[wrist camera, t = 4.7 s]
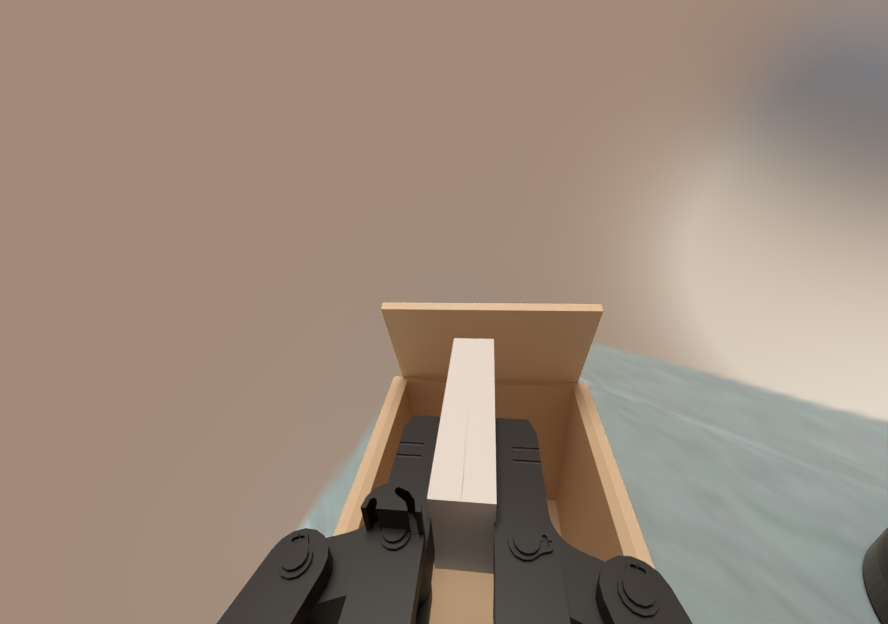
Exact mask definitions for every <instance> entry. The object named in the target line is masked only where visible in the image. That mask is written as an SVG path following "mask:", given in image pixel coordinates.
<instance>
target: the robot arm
mask: <svg viewBox="0 0 888 624" xmlns="http://www.w3.org/2000/svg"><path fill="white" fill-rule="evenodd" d="M360 508H361V512H362V516H363V520H364V524H365V525H364V526H362V527H360V528H359V529H356V530H354V531H351V532H348V533H344V534H340V535H336V536H332V537H328V538H325V536H324V535H323V534H321V533H320V532H319V531H317V530H314V529H307V528H305V529H302V530H298V531H294V532H292V533H291V534H289V535H287V536H286V537H284V538H282V539H281V540H280V541H279V542H278V544H277V545H276V546H275V547H274V548H273V549H272V550H271V551H270V553H269V554H268V555H267V557H266V558H265V559H264V561H263V562H262V563H261V565H260V566H259V567H258V569H257V570H256V572H255V573H254V575H253V576H252V577H251V578H250V580H249V581H248V582H247V584H246V585H245V586H244V588H243V589H242V591H241V592H240V593H239V594H238V596H237V597H236V598H235V600H234V601H233V603H232V604H231V605H230V607H229V608H228V609H227V611H226V612H225V613H224V615H223V616H222V617H221V619H220V620H219V621H218V623H217V624H429V620H430V612H431V604H432V583H431V581H432V573H433V565H435V568H438V569H448V570H458V571H468V572H479V573H489V574H493V579H494V595H493V624H692V622H691V620H690V619H689V617H688V615H687V614H686V612H685V610H684V609H683V607H682V605H681V604H680V602H679V600H678V599H677V597H676V595H675V594H674V592H673V590H672V589H671V587H670V586H669V585H668V583H667V582H666V581H665V579H664V578H663V577H662V576H661V574H660V573H659V572H658V571H656V570H655V569H654V568H652V567H651V566H650V565H649V564H647V563H646V562H644V561H642V560H639V559H637V558H634V557H632V556H616V557H613V558H611V559H609V560H607V561H606V562H605V561H603V560H600V559H598V558H596V557H593V556H591V555H589V554H586V553H584V552H582V551H580V550H578V549H576V548H574V547H572V546H571V545H570V544H568V543H567V542H566V541H565V540H564V539H562V537H561V536H560V535H559V534H558V532H557V531H556V530H555V528H554V526H553V524H552V522H551V519H550V516H549V511H548V504H547V498H546V491H545V484H544V478H543V471H542V464H541V458H540V451H539V445H538V438H537V433H536V431H535V430H534V428H533V427H532V425H531V424H530V422H529V421H528V419H508V418H495V377H494V339H470V338H454V341H453V347H452V353H451V359H450V365H449V371H448V377H447V383H446V389H445V394H444V400H443V406H442V412H441V417H440V416H418V415H413V417H412V418H411V419H410V420H409V421H408V423H407V424H406V425H405V426H404V428H403V431H402V435H401V438H400V444H399V445H398V449H397V452H396V457H395V459H394V463H393V466H392V470H391V473H390V477H389V480H388V483H385V484H383V485H381V486H379V487H377V488H375V489H374V490H373V491H372V492H371V493H370V494H368V495H367V496H366V498H365V500H364V502H363V503H362V505H361V507H360ZM863 573H864V580H865V585H866V588H867V592H868V594H869V597H870V600H871V602H872V604H873V606H874V608H875V611H876V612H877V614H878V616H879V618H880V620H881V622H882V623H883V624H888V528H887V529H886V530H885V531H884V532H883V533H882V534H881V535H880V536H879V537H878V539H877V540H876V541H875V542H874V543H873V544H872V545H871V547H870V548H869V549H868V551H867V553H866V555H865V559H864V565H863Z"/></svg>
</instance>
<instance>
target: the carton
mask: <svg viewBox="0 0 888 624" xmlns="http://www.w3.org/2000/svg"><path fill="white" fill-rule="evenodd" d="M446 383H447V378H429V377H401V376H395V377H394V379H393V382H392V384H391V387H390V389H389V392H388V394H387V397H386V400H385V402H384V405H383V408H382V410H381V413H380V415H379V418H378V420H377V423H376V425H375V428H374V431H373V433H372V436H371V438H370V441H369V444H368V446H367V449H366V451H365V454H364V456H363V459H362V462H361V464H360V467H359V469H358V472H357V475H356V477H355V480H354V482H353V485H352V488H351V490H350V493H349V495H348V498H347V500H346V503H345V506H344V508H343V511H342V513H341V516H340V519H339V521H338V524H337V526H336V529H335V531H334V534H333V536H336V535H340V534H344V533H348V532H351V531H354V530H356V529H359V528H360V527H362V526H364V525H365V524H364V520H363V516H362V512H361V508H360V507H361V505H362V503H363V502H364V500H365V498H366V496H367V495H368V494H370V493H371V492H372V491H373V490H374V489H375V488H377V487H379V486H381V485H383V484H385V483H388V480H389V477H390V473H391V470H392V466H393V463H394V459H395V457H396V452H397V449H398V445H399V444H400V438H401V435H402V431H403V428H404V426H405V425H406V424H407V423H408V421H409V420H410V419H411V418H412V417H413V415H418V416H440V417H441V412H442V406H443V400H444V394H445V389H446ZM495 418H508V419H528V421H529V422H530V424H531V425H532V427H533V428H534V430H535V431H536V433H537V438H538V445H539V451H540V458H541V464H542V471H543V478H544V484H545V491H546V498H547V504H548V511H549V516H550V519H551V522H552V524H553V526H554V528H555V530H556V531H557V532H558V534H559V535H560V536H561V537H562V539H564V540H565V541H566V542H567V543H568V544H570V545H571V546H572V547H574V548H576V549H578V550H580V551H582V552H584V553H586V554H589V555H591V556H593V557H596V558H598V559H600V560H603V561H605V562H606V561H607V560H609V559H611V558H613V557H616V556H632V557H634V558H637V559H639V560H642V561H644V562H646V563H647V564H649V565H650V566H651V567H652V568H654V565H653V563H652V560H651V557H650V554H649V552H648V549H647V546H646V543H645V541H644V538H643V535H642V532H641V530H640V527H639V524H638V522H637V519H636V516H635V513H634V511H633V508H632V505H631V502H630V500H629V497H628V494H627V491H626V489H625V486H624V483H623V480H622V478H621V475H620V472H619V470H618V467H617V464H616V461H615V459H614V456H613V453H612V450H611V448H610V445H609V442H608V439H607V437H606V434H605V431H604V428H603V426H602V423H601V420H600V418H599V415H598V412H597V409H596V407H595V404H594V401H593V398H592V396H591V393H590V390H589V387H588V385H587V383H572V382H544V381H515V380H495ZM654 569H655V568H654ZM431 583H432V604H431V612H430V620H429V624H493V595H494V579H493V574H489V573H479V572H468V571H458V570H448V569H438V568H435V565H433V573H432V581H431Z"/></svg>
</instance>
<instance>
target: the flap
mask: <svg viewBox="0 0 888 624" xmlns="http://www.w3.org/2000/svg"><path fill="white" fill-rule="evenodd" d="M381 310H382V313H383V317H384V320H385V323H386V326H387V328H388V332H389V335H390V338H391V341H392V344H393V347H394V350H395V354H396V357H397V360H398V363H399V366H400V369H401V372H402V375H403V377H429V378H447V377H448V371H449V365H450V359H451V353H452V347H453V341H454V338H470V339H494V377H495V380H515V381H544V382H572V383H578V380H579V377H580V374H581V372H582V369H583V366H584V363H585V360H586V358H587V355H588V352H589V349H590V346H591V344H592V341H593V338H594V335H595V332H596V330H597V327H598V324H599V321H600V318H601V316H602V313H603V309H602V305H601V304H507V303H505V304H504V303H500V304H499V303H497V304H496V303H493V304H492V303H383V304H382V308H381Z"/></svg>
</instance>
